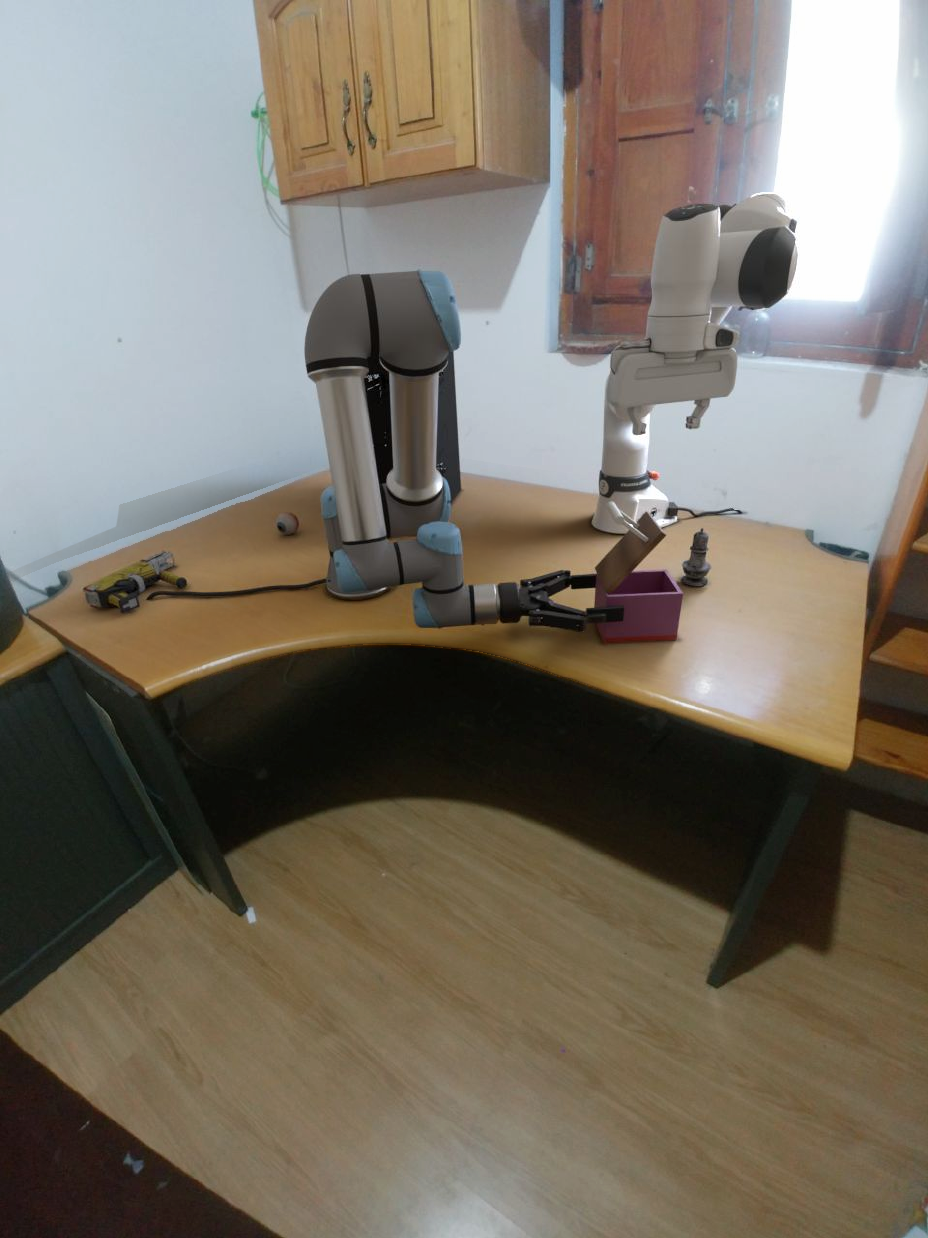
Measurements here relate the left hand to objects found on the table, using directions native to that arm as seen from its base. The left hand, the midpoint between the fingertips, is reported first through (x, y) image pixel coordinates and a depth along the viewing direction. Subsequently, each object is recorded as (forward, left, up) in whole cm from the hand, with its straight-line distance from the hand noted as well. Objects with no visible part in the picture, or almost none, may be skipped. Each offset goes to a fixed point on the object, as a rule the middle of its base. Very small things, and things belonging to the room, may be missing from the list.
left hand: (613, 596), depth 111 cm
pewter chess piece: (+13, +25, -7) cm, 29 cm away
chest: (+4, +2, -7) cm, 8 cm away
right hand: (+6, +3, +29) cm, 30 cm away
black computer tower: (-67, +50, -7) cm, 84 cm away
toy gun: (-102, -15, -7) cm, 103 cm away
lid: (+2, +1, +8) cm, 9 cm away
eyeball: (-92, +23, -7) cm, 95 cm away
